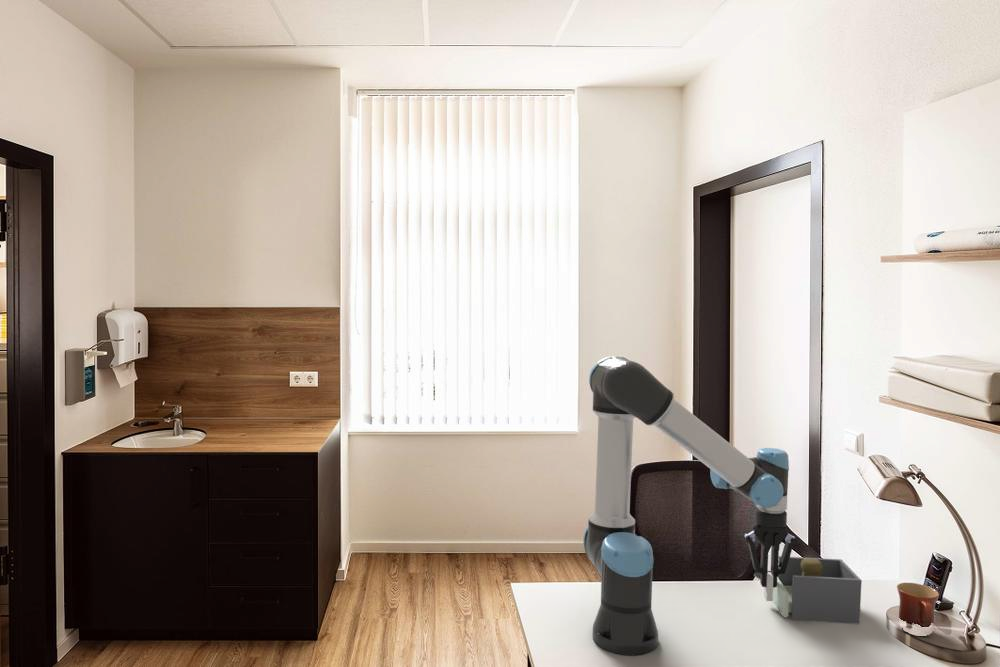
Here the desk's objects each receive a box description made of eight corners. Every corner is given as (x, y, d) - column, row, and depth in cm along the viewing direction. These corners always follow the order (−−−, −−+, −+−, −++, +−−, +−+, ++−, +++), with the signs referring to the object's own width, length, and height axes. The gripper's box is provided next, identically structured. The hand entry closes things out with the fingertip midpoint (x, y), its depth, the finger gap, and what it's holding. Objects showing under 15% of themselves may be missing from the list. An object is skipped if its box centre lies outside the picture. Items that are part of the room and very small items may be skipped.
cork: (819, 597, 186) (820, 556, 185) (826, 607, 180) (827, 565, 179) (794, 595, 186) (796, 554, 186) (800, 605, 180) (802, 563, 180)
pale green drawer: (782, 616, 177) (783, 593, 177) (768, 594, 191) (769, 572, 190) (845, 620, 176) (846, 597, 175) (827, 597, 189) (828, 575, 189)
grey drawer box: (792, 619, 177) (793, 576, 176) (777, 596, 191) (778, 556, 190) (859, 623, 175) (861, 580, 175) (839, 599, 189) (841, 559, 188)
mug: (889, 621, 177) (891, 580, 176) (928, 624, 175) (930, 584, 175) (907, 644, 165) (909, 601, 165) (948, 648, 164) (951, 605, 163)
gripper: (748, 512, 180) (745, 603, 181) (802, 515, 178) (798, 606, 180) (741, 503, 187) (739, 591, 189) (793, 505, 186) (790, 593, 187)
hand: (768, 598), depth 184 cm, fingers closed
